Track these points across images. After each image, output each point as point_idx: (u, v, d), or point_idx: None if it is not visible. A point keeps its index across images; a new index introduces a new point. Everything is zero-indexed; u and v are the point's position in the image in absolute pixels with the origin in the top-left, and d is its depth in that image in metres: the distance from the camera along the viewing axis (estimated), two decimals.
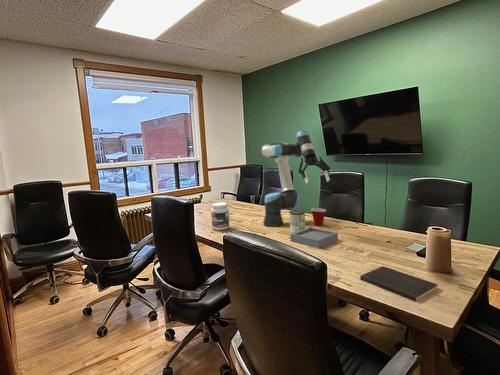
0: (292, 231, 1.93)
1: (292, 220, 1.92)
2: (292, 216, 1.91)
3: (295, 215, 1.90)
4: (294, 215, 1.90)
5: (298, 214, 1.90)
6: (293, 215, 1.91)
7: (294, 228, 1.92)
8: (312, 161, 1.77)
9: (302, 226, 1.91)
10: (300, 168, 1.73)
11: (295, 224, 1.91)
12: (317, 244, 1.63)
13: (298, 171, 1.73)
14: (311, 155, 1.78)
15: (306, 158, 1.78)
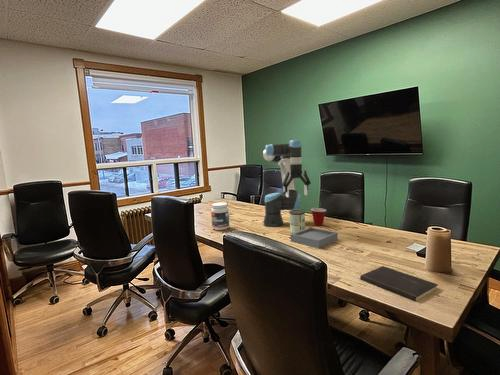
0: (292, 231, 1.93)
1: (292, 220, 1.92)
2: (292, 216, 1.91)
3: (295, 215, 1.90)
4: (294, 215, 1.90)
5: (298, 214, 1.90)
6: (293, 215, 1.91)
7: (294, 228, 1.92)
8: (297, 175, 1.90)
9: (302, 226, 1.91)
10: (284, 183, 1.88)
11: (295, 224, 1.91)
12: (317, 244, 1.63)
13: (282, 185, 1.89)
14: (297, 170, 1.89)
15: (292, 172, 1.89)
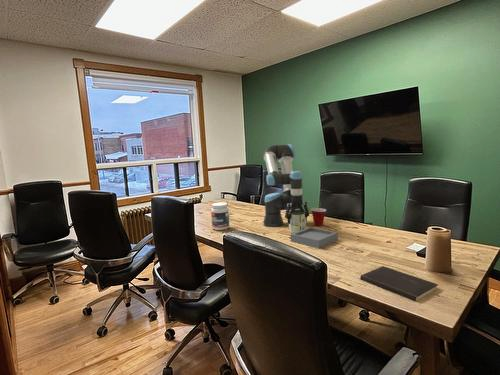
0: (292, 231, 1.93)
1: (292, 220, 1.92)
2: (292, 216, 1.91)
3: (295, 215, 1.90)
4: (294, 215, 1.90)
5: (298, 214, 1.90)
6: (293, 215, 1.91)
7: (294, 228, 1.92)
8: (297, 206, 1.93)
9: (302, 226, 1.91)
10: (287, 215, 1.91)
11: (295, 224, 1.91)
12: (317, 244, 1.63)
13: (285, 217, 1.92)
14: (298, 201, 1.92)
15: (293, 203, 1.92)
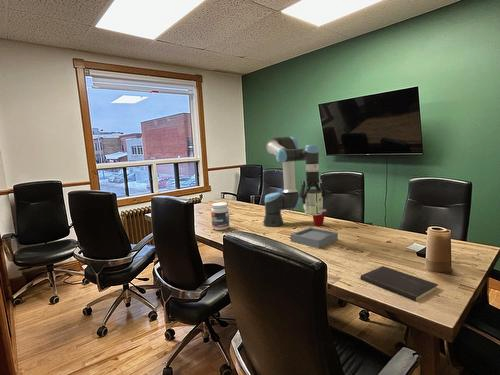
0: (307, 212, 1.72)
1: (307, 199, 1.71)
2: (307, 195, 1.70)
3: (311, 194, 1.69)
4: (310, 194, 1.69)
5: (314, 192, 1.68)
6: (309, 194, 1.69)
7: (310, 208, 1.70)
8: (313, 184, 1.72)
9: (319, 206, 1.70)
10: (302, 194, 1.70)
11: (311, 203, 1.70)
12: (317, 244, 1.63)
13: (299, 196, 1.71)
14: (314, 178, 1.70)
15: (308, 180, 1.70)
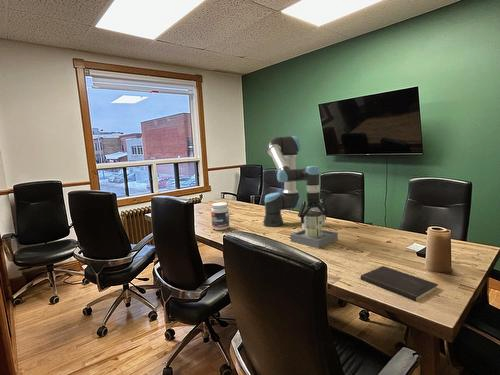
0: (308, 235, 1.73)
1: (308, 222, 1.72)
2: (308, 218, 1.72)
3: (311, 217, 1.70)
4: (310, 217, 1.71)
5: (315, 216, 1.70)
6: (309, 217, 1.71)
7: (310, 231, 1.72)
8: (314, 205, 1.73)
9: (319, 229, 1.72)
10: (301, 214, 1.71)
11: (311, 226, 1.71)
12: (317, 244, 1.63)
13: (298, 215, 1.72)
14: (315, 199, 1.72)
15: (309, 201, 1.72)
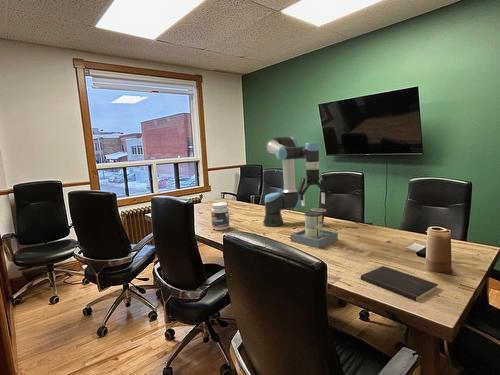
0: (308, 235, 1.73)
1: (308, 222, 1.72)
2: (308, 218, 1.72)
3: (311, 217, 1.70)
4: (310, 217, 1.71)
5: (315, 216, 1.70)
6: (309, 217, 1.71)
7: (310, 231, 1.72)
8: (314, 182, 1.71)
9: (319, 229, 1.72)
10: (300, 191, 1.69)
11: (311, 226, 1.71)
12: (317, 244, 1.63)
13: (297, 193, 1.70)
14: (315, 175, 1.70)
15: (309, 178, 1.70)
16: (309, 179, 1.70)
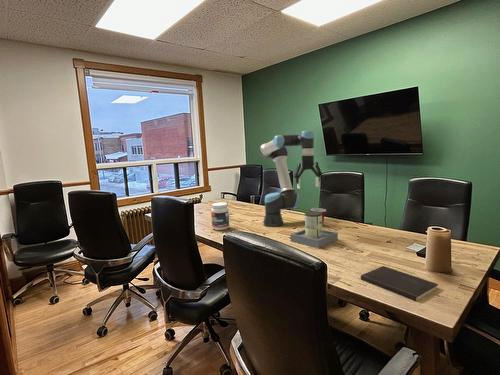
0: (308, 235, 1.73)
1: (308, 222, 1.72)
2: (308, 218, 1.72)
3: (311, 217, 1.70)
4: (310, 217, 1.71)
5: (315, 216, 1.70)
6: (309, 217, 1.71)
7: (310, 231, 1.72)
8: (308, 167, 1.89)
9: (319, 229, 1.72)
10: (296, 175, 1.86)
11: (311, 226, 1.71)
12: (317, 244, 1.63)
13: (293, 176, 1.88)
14: (309, 161, 1.87)
15: (304, 163, 1.87)
16: (304, 164, 1.87)
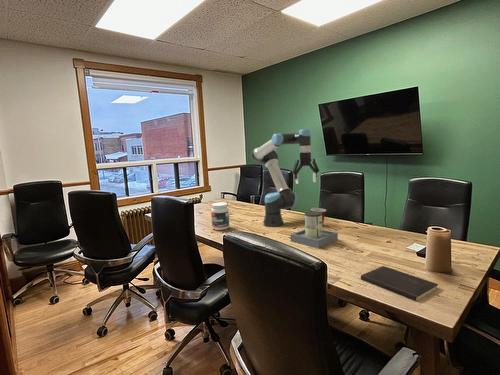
0: (308, 235, 1.73)
1: (308, 222, 1.72)
2: (308, 218, 1.72)
3: (311, 217, 1.70)
4: (310, 217, 1.71)
5: (315, 216, 1.70)
6: (309, 217, 1.71)
7: (310, 231, 1.72)
8: (306, 163, 2.00)
9: (319, 229, 1.72)
10: (294, 170, 1.97)
11: (311, 226, 1.71)
12: (317, 244, 1.63)
13: (292, 172, 1.98)
14: (307, 158, 1.98)
15: (302, 160, 1.98)
16: (302, 161, 1.98)
